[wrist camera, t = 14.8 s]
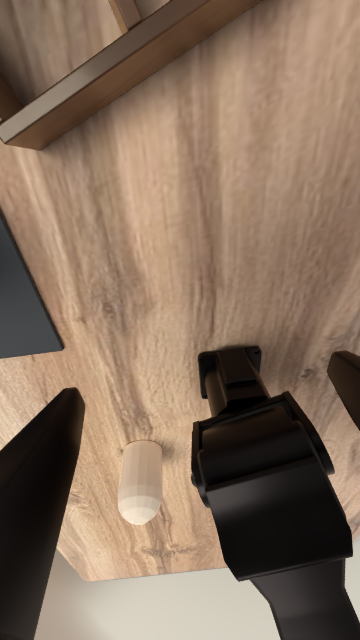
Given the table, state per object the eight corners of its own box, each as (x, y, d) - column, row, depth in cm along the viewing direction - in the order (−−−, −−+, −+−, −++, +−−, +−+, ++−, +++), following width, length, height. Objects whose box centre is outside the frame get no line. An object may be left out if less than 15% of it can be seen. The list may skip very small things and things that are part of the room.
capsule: (150, 435, 31) (148, 508, 25) (168, 455, 34) (170, 525, 27) (115, 447, 32) (103, 521, 25) (135, 465, 35) (129, 536, 28)
